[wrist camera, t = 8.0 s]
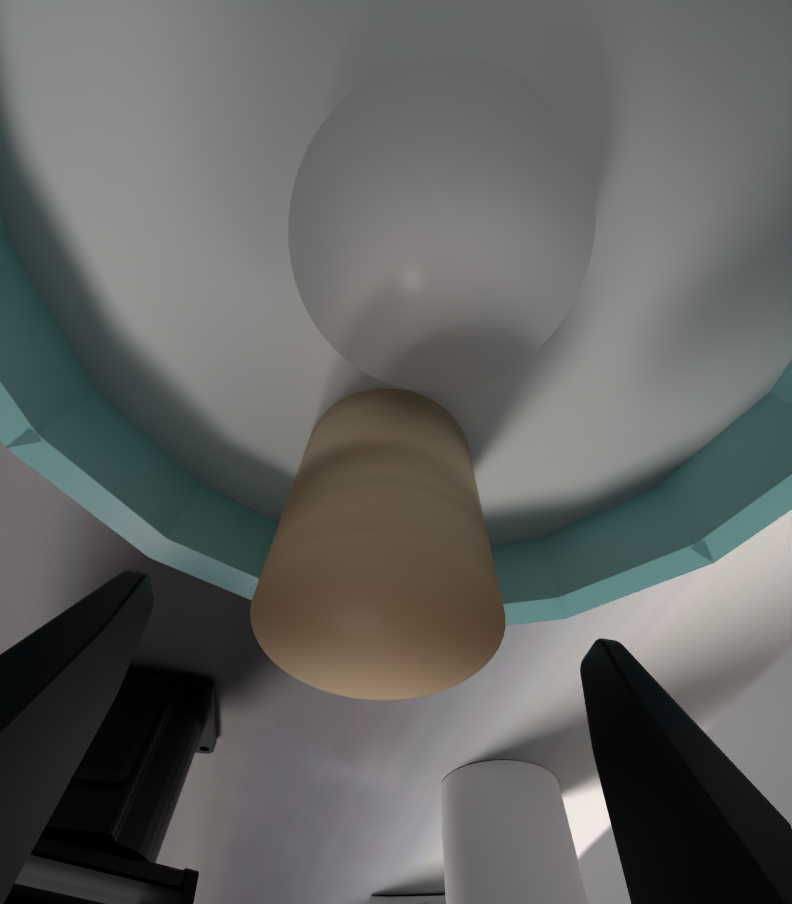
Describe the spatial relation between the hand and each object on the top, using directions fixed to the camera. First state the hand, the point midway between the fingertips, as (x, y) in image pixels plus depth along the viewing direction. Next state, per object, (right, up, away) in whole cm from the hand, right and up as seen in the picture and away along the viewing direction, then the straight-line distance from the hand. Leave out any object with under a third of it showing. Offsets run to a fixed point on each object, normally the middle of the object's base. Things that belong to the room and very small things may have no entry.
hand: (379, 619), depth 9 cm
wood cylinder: (0, +3, +5) cm, 6 cm away
